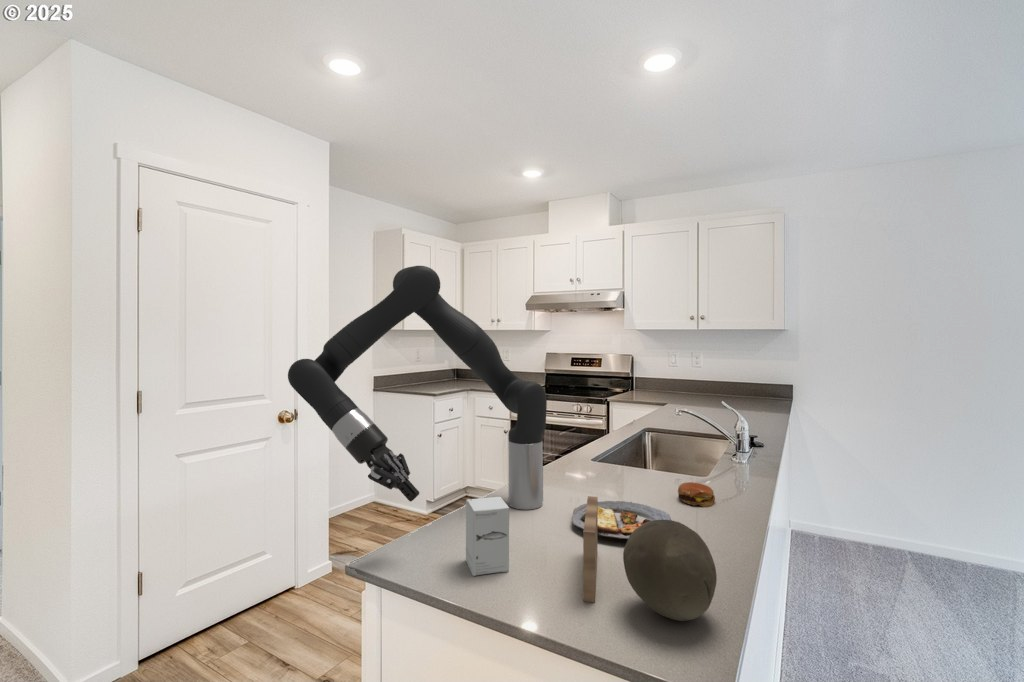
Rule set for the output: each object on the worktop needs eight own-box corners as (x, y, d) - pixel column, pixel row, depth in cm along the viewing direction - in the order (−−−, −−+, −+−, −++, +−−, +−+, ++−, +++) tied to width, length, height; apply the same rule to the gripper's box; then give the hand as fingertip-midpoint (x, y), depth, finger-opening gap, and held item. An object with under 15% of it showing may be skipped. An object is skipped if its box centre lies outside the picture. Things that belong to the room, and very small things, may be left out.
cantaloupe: (694, 591, 88) (694, 507, 88) (731, 640, 74) (732, 540, 74) (615, 593, 88) (615, 508, 88) (638, 642, 74) (638, 542, 74)
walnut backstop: (587, 553, 104) (587, 496, 104) (597, 554, 103) (597, 496, 103) (583, 601, 85) (583, 531, 85) (595, 602, 85) (595, 532, 85)
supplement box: (472, 577, 94) (472, 510, 94) (465, 560, 101) (465, 498, 101) (510, 572, 96) (510, 507, 95) (500, 555, 103) (500, 495, 103)
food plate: (679, 551, 105) (678, 534, 105) (568, 543, 109) (568, 527, 109) (666, 513, 129) (666, 499, 129) (576, 507, 134) (576, 494, 134)
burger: (696, 494, 143) (696, 478, 143) (722, 504, 134) (722, 487, 134) (669, 499, 139) (669, 482, 138) (694, 510, 130) (694, 492, 130)
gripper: (355, 429, 96) (415, 495, 94) (385, 417, 109) (438, 476, 107) (330, 455, 97) (389, 521, 95) (363, 440, 110) (415, 499, 108)
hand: (415, 497), depth 101 cm, fingers closed
